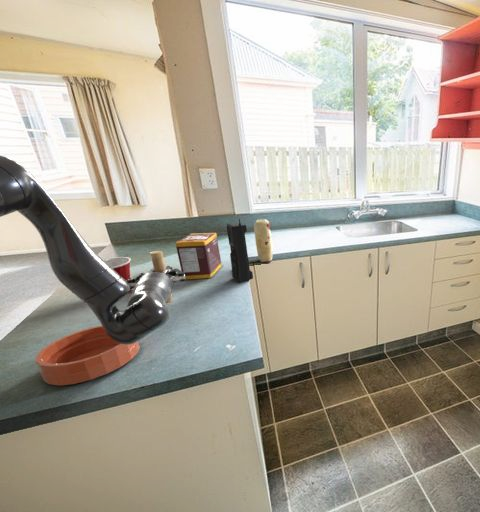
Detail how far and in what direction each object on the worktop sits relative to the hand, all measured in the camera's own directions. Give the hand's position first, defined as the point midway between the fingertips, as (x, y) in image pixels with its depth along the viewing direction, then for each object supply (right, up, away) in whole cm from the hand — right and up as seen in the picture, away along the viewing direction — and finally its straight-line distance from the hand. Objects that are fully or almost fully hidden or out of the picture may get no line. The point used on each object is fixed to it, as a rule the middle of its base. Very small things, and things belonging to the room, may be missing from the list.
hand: (162, 269), depth 90 cm
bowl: (-1, -21, -20) cm, 29 cm away
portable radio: (+10, -5, +30) cm, 32 cm away
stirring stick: (+1, -10, +1) cm, 10 cm away
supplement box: (-10, -3, +36) cm, 38 cm away
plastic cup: (-27, -9, +16) cm, 33 cm away
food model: (+11, +2, +53) cm, 54 cm away
